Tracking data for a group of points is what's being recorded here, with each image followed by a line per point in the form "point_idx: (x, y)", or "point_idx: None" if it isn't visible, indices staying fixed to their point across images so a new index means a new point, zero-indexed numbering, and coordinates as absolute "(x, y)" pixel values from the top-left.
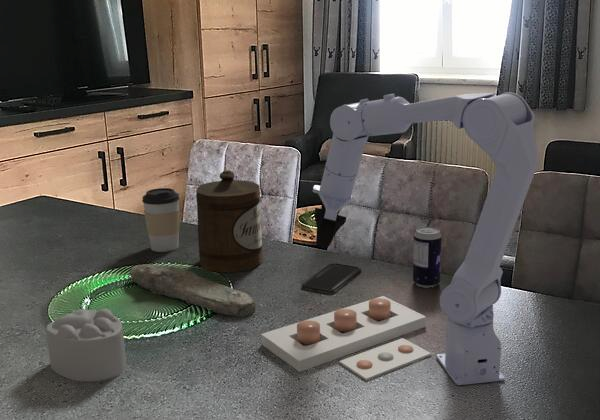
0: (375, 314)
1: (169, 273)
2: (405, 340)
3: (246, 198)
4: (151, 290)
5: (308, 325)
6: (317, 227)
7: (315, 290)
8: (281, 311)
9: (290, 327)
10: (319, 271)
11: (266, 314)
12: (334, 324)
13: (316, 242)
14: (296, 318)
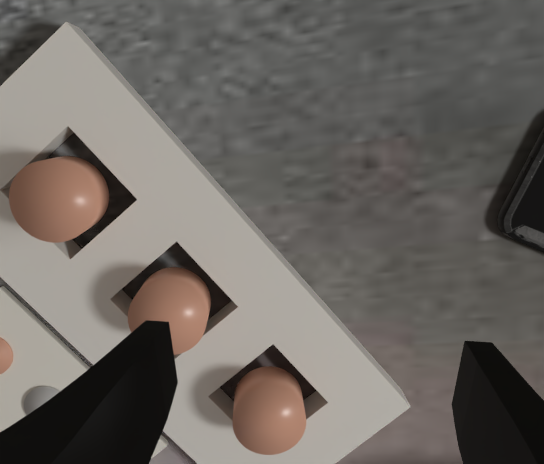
0: (236, 395)
1: None
2: (153, 452)
3: None
4: None
5: (50, 202)
6: (1, 435)
7: (527, 165)
8: (346, 60)
9: (133, 123)
10: None
11: (318, 5)
12: (161, 272)
13: (131, 333)
14: (290, 123)
